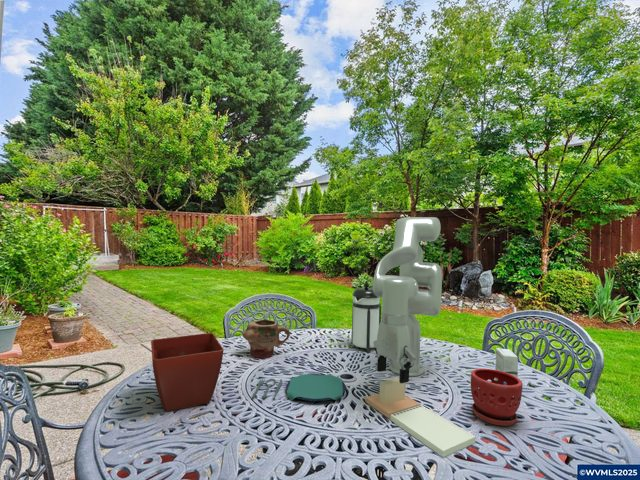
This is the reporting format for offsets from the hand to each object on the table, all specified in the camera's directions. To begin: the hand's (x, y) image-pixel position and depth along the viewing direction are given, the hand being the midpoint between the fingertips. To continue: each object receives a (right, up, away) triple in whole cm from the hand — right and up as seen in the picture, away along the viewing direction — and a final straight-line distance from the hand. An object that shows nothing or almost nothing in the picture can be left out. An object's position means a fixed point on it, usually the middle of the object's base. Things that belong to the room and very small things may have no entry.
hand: (392, 376), depth 101 cm
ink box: (+44, -10, +17) cm, 48 cm away
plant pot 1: (-63, -8, +2) cm, 64 cm away
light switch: (0, -9, +1) cm, 9 cm away
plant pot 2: (+29, -10, -4) cm, 31 cm away
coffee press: (0, -9, +55) cm, 56 cm away
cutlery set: (-28, -9, +10) cm, 31 cm away
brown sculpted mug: (-45, -8, +42) cm, 62 cm away
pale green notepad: (+8, -10, -12) cm, 17 cm away
